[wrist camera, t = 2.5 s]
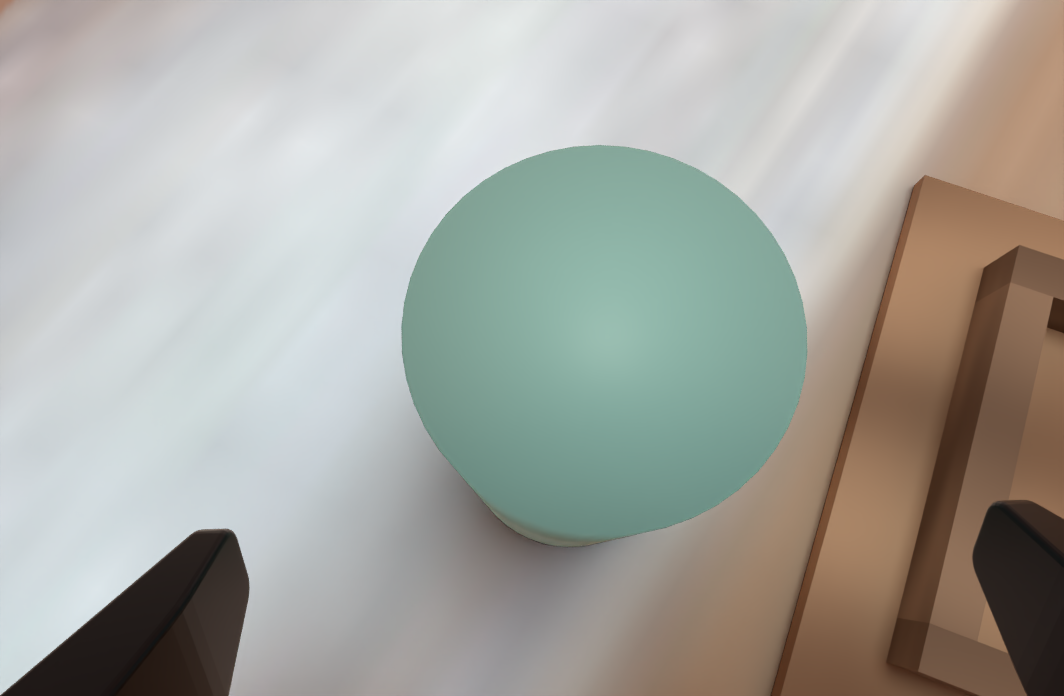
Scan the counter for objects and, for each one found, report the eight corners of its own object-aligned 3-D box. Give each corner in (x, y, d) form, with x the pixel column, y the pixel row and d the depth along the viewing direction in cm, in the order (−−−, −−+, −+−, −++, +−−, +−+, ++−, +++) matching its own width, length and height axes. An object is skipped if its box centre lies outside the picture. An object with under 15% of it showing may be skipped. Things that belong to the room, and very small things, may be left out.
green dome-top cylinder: (711, 442, 19) (890, 326, 10) (570, 592, 18) (612, 630, 9) (566, 306, 20) (597, 76, 11) (425, 442, 19) (318, 327, 10)
